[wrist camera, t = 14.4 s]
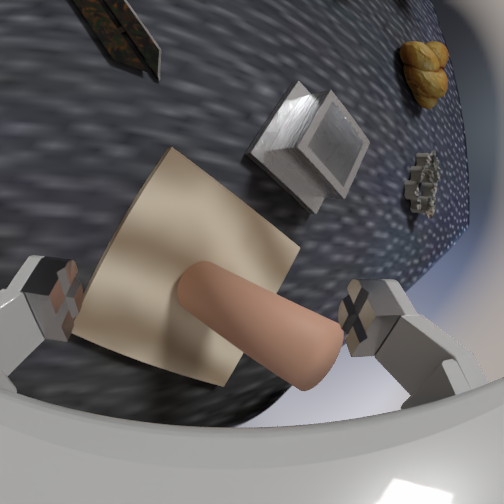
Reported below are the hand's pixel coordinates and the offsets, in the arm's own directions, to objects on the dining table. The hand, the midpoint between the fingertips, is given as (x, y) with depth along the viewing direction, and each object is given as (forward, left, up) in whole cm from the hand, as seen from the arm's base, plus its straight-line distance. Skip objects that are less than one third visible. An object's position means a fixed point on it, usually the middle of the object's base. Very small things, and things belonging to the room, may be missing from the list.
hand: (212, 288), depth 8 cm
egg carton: (+30, -35, -16) cm, 49 cm away
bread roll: (+46, -23, -16) cm, 54 cm away
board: (-1, -8, -16) cm, 18 cm away
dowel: (-1, -8, -14) cm, 16 cm away
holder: (+16, -11, -16) cm, 25 cm away
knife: (+15, +16, -17) cm, 28 cm away
